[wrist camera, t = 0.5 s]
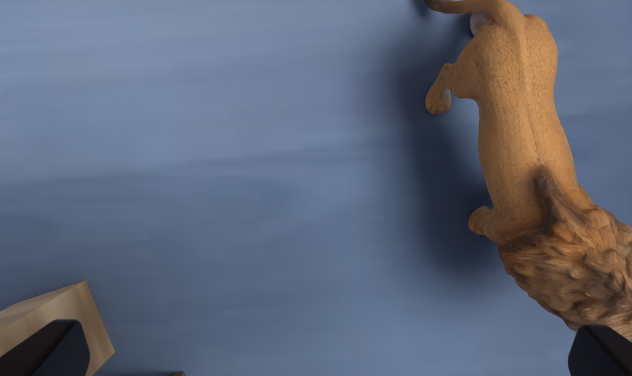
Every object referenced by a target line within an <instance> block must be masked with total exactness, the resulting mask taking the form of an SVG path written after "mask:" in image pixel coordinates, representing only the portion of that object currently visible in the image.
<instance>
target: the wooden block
mask: <svg viewBox="0 0 632 376" xmlns="http://www.w3.org/2000/svg"><path fill="white" fill-rule="evenodd" d="M56 319H76V320H79V321H80V322H81V324H82V327H83V330H84V333H85V336H86V340H87V343H88V346H89V349H90V363H89V367H88V370H87V373H86V376H92V375H93V374H94V373H95V372H96V371H97V370H98V369H99V368H100V367H101V366H102V365H103V364H104V363H105V362H106V361H107V360H108V359H109V358H110V357H111V356H112V355H113V354H114V353H115V351H114V348H113V346H112V343H111V341H110V338H109V336H108V333H107V331H106V328H105V326H104V323H103V321H102V318H101V316H100V313H99V311H98V308H97V306H96V303H95V301H94V298H93V296H92V294H91V291H90V289H89V286H88V284H87V281H86V280H84V281H81V282H78V283H75V284H72V285H69V286H66V287H63V288H60V289H57V290H54V291H51V292H48V293H45V294H42V295H39V296H36V297H33V298H30V299H27V300H24V301H21V302H18V303H15V304H13V305H11V306H9V307H7V308H5V309H4V310H2V311H0V357H1V356H2V355H3V354H5V353H6V352H8V351H9V350H11V349H12V348H14V347H15V346H16V345H18V344H19V343H21V342H22V341H24V340H25V339H27V338H28V337H29V336H31V335H32V334H34V333H35V332H37V331H38V330H40V329H41V328H42V327H44V326H45V325H47V324H48V323H50V322H51V321H53V320H56Z"/></svg>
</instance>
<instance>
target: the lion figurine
mask: <svg viewBox="0 0 632 376" xmlns="http://www.w3.org/2000/svg"><path fill="white" fill-rule="evenodd" d="M424 2H425V4H426V5H427V6H428V7H429V8H431V9H432V10H435V11H438V12H442V13H445V14H450V13H455V14H461V13H467V14H472V16H471V19H470V28H471V31H472V33H473V35H474V37H473V38H472V39H471V40H470V41H469V43H468V44H467V45H466V47H465V48H464V49H463V51H462V52H461V53H460V55H459V56H458V59H457V60H456V62H455V63H454V64H452V63H446V64H444V65H443V67H442V68H441V70H440V73H439V75H438V77H437V79H436V81H435V82H434V84H433V85H432V86H431V88H430V89H429V91H428V93H427V96H426V99H425V107H426V109H427V110H428V111H429V112H430V113H431V114H434V115H435V114H441V113H444V112H446V111H448V110H449V109H450V106H451V95H450V91H451V92H452V93H453V94H454V95H455V96H457V97H459V98H470V99H473V100H475V101H476V102H477V104H478V106H479V116H480V118H479V136H478V151H479V158H480V163H481V167H482V171H483V174H484V178H485V180H486V185H487V189H488V192H489V194H490V197H491V199H492V202H493V204H494V206H493V207H492V209H490V208H489V207H487V206H481V207H480V208H478V209H477V210H475V211H474V212H473V213H472V214H471V216H470V218H469V220H468V226H469V229H470V230H471V231H472V232H474V233H475V234H477V235H486V236H487V237H488V238H489V239H490V240H492V241H494V242H497V243H498V246H497V248H498V251H499V254H500V258H501V260H502V262H503V264H504V266H505V271H506V272H507V274H509V275H511V276H512V277H514V278H515V280H516V283H517V284H518V286H519V287H520V288H521V289H523V290H524V291H526V292H527V293H528V295H529V296H530V297H531V298H533V299H534V300H536V301H537V302H538V303H539V304H540V305H541V306H542V307H543V308H544V309H545V310H547V311H548V312H550V313H552V314H554V315H556V316H558V317H560V318H561V319H562V320H563V321H564V322H565V324H566V325H567V326H568V327H569V328H570V329H571V330H573V331H575V332H577V331H578V328H579V327H580V326H581V325H584V324H602V325H606V326H609V327H610V328H612V329H613V330H615V331H616V332H618V333H619V334H621V335H622V336H624V337H625V338H627V339H628V340H629V341H631V342H632V227H631V226H629V225H626V224H623V223H621V222H619V221H618V220H617V218H616V217H615V216H614V215H613V214H612V213H611V212H609V211H607V210H605V209H603V208H601V207H599V206H597V205H595V204H594V203H593V201H592V200H591V198H590V197H589V195H588V194H587V193H586V192H585V190H584V189H583V188H582V187H581V186H580V185H578V183H577V178H576V173H575V167H574V162H573V157H572V153H571V150H570V147H569V144H568V141H567V138H566V135H565V132H564V130H563V128H562V125H561V123H560V121H559V118H558V115H557V112H556V109H555V105H554V83H555V77H556V71H557V62H558V50H557V46H556V43H555V41H554V39H553V37H552V35H551V33H550V31H549V29H548V27H547V25H546V24H545V22H544V20H543V19H541V18H540V17H538V16H536V15H530V14H528V15H523V14H522V13H521V12H520V11H519V10H518V8H517V7H516V6H514V5H513V4H512V3H510V2H509V1H507V0H462V1H453V0H424Z"/></svg>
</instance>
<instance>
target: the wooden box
mask: <svg viewBox="0 0 632 376" xmlns="http://www.w3.org/2000/svg"><path fill="white" fill-rule="evenodd" d="M171 376H185V374H184V372H181V373H178V374H174V375H171Z"/></svg>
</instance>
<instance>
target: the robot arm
mask: <svg viewBox="0 0 632 376" xmlns="http://www.w3.org/2000/svg"><path fill="white" fill-rule="evenodd" d="M89 363H90V349H89V346H88V343H87V340H86V336H85V333H84V330H83V327H82V324H81V322H80V321H79V320H76V319H56V320H53V321H51V322H50V323H48V324H47V325H45V326H44V327H42V328H41V329H40V330H38V331H37V332H35V333H34V334H32V335H31V336H29V337H28V338H27V339H25V340H24V341H22V342H21V343H19V344H18V345H16V346H15V347H14V348H12V349H11V350H9V351H8V352H6V353H5V354H3V355H2V356H1V357H0V376H86V373H87V370H88V367H89ZM568 367H569V371H570V374H571V376H632V342H631V341H629V340H628V339H627V338H625V337H624V336H622V335H621V334H619V333H618V332H616V331H615V330H613V329H612V328H610V327H609V326H606V325H602V324H584V325H581V326H580V327H579V328H578V331H577V333H576V336H575V339H574V342H573V344H572V347H571V350H570V353H569V356H568Z"/></svg>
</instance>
